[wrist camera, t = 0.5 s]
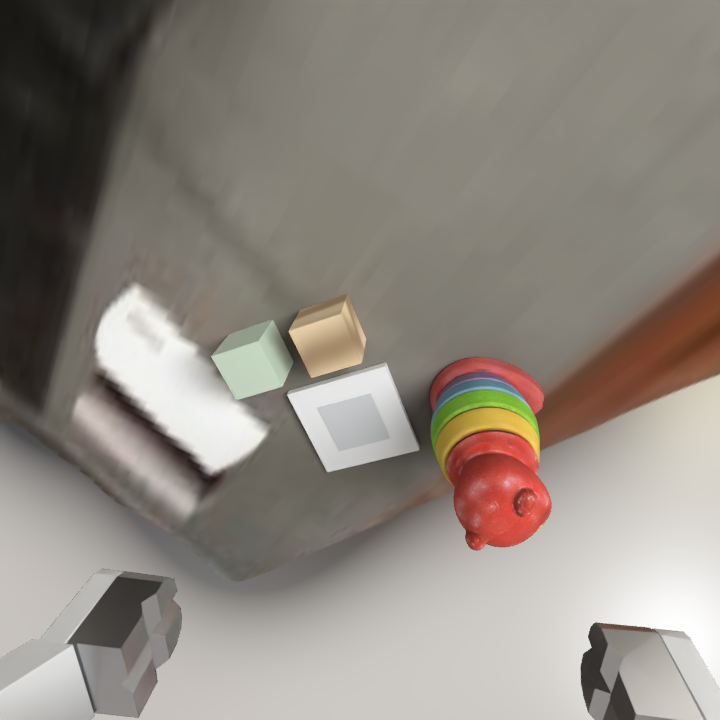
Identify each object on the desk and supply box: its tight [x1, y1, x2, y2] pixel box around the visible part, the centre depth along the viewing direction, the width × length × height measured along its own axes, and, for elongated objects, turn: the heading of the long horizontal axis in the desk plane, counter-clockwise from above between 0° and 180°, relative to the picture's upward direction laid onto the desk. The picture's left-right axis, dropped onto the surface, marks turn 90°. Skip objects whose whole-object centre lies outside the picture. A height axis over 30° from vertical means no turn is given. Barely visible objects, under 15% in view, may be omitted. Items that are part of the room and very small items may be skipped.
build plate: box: [287, 362, 420, 472], centre depth 50 cm, size 11×11×1 cm
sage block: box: [211, 319, 294, 400], centre depth 46 cm, size 5×5×5 cm
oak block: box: [289, 294, 366, 378], centre depth 44 cm, size 5×5×5 cm
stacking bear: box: [430, 357, 551, 550], centre depth 40 cm, size 11×10×18 cm
